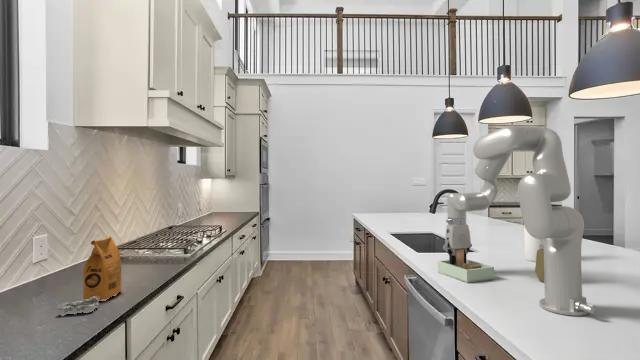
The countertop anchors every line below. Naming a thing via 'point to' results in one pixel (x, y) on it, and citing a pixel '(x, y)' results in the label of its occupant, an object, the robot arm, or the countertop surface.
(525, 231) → the alcohol
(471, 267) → the walnut cube
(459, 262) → the terracotta cylinder
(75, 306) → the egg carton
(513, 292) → the countertop surface
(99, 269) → the coffee package
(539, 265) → the squeeze bottle
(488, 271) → the tote
